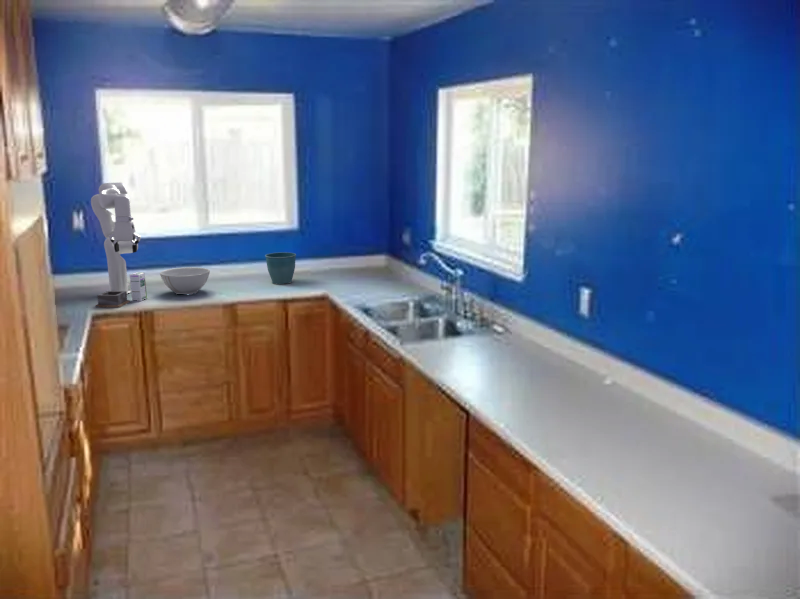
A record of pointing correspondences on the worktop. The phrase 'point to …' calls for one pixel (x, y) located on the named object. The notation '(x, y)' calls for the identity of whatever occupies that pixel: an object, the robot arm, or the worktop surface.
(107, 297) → the dark grey open box
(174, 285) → the decorative bowl
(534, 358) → the worktop surface
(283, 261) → the flower pot
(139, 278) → the syrup box
